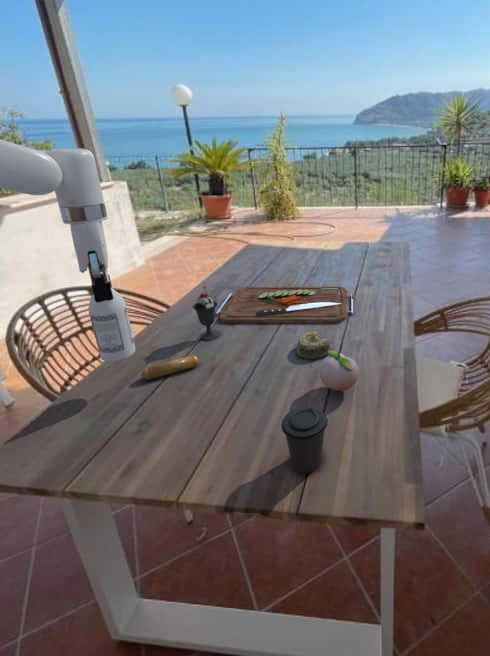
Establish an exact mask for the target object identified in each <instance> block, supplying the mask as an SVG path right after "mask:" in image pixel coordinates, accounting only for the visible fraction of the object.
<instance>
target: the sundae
mask: <svg viewBox="0 0 490 656" xmlns="http://www.w3.org/2000/svg"><path fill="white" fill-rule="evenodd" d="M217 307H218V301H217V300H214V299H213V298H212V297H211V296H210V295H209V294H208V291H207V290H206V286H203V291H202V293H200V295H199V297H198V298H197V299H196V302H195V303H194V304H193V305H192V309H194V310H195V312H196V314H197V319H198V321H199V323H200V325H202V326H204V327H206V328H205V329H206V332H203V333H202V334H201V335H200V339H201V340H202V341H211V340H215V339H217V338H218V336H219V333H218V332H217V331H215V330H213V331H212V329H211V326H212V325H213V324H214V323H215V321H216V320H215V319H216V314H215V313H216V308H217Z"/></svg>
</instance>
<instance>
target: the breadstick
mask: <svg viewBox="0 0 490 656" xmlns="http://www.w3.org/2000/svg"><path fill="white" fill-rule="evenodd" d="M199 361H200V359H199V357H198V356H197V355H189V356H185V357H181V358H177V359H174V360H170V361H166V362H163V363H159V364H155V365H151V366H148V367H145V368H144V369H143V370H142V371H141V374H140V375H141V378H142V380H143V379H144V380H145V381H150V380H154V379H157V378H161V377H164V376H168V375H171V374H175V373H178V372H182V371H185V370H189V369H193V368H196V367H197V366H198V365H199V363H200V362H199Z"/></svg>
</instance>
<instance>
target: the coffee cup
mask: <svg viewBox="0 0 490 656" xmlns="http://www.w3.org/2000/svg"><path fill="white" fill-rule="evenodd" d="M283 417H284V418H283V419H282V421H281V424H280V425H281V431H282V432H283V434H284V435H285V439H286V442H287V443H286V444H287V448H288V450H289V451H288V452H289V457H290V461H291V464H292V468H293V469H294V471H296V472H298V473H300V474H311V473H313V472H315V471H317V469H318V468H320V466H321V464H322V456H323V448H324V447H323V446H324V438H325V430H326V428H327V427H328V421H329V420H328V417H327V415H326V414H325V413H324V412H323V410H321V409H320V408H317V407H315V406H309V405H307V406H306V405H305V406H299V407H296V408H294V409H291V410H290V411H288V413H287V414H286V415H284V416H283Z"/></svg>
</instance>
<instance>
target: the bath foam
mask: <svg viewBox="0 0 490 656" xmlns="http://www.w3.org/2000/svg"><path fill="white" fill-rule="evenodd" d="M100 273H101V274H103V272H100ZM106 275H107V280H108V282H110V281H111V280H110V281H109V277H108V275H109V273H108V270H107V271H106ZM111 290H112V294H113V299H112V300H109V301H108V300H106V301H102V302H96V301H95V298H94V294H93V293H92V295H91V297H90V299H89V303H88V315H89V318H90V321H91V322H90V323H91V326H92V331H93V334H94V338H95V342H96V345H97V349H98V353H99V357H100V359H101V360H102V361H104V362H107V363H115V362H120V361H123V360H126V359H128V358H130V357H131V356H133V355H134V354H135V352H136V344H135V340H134V339H135V338H134V333H133V330H132V325H131V321H130V317H129V313H128V308H127V307H128V306H127V304H126V301H125V299H124V297H123V296H122V295H121V294H120V293H119V292H117V290H115V289H114V288H113V287H112V288H111Z"/></svg>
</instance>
